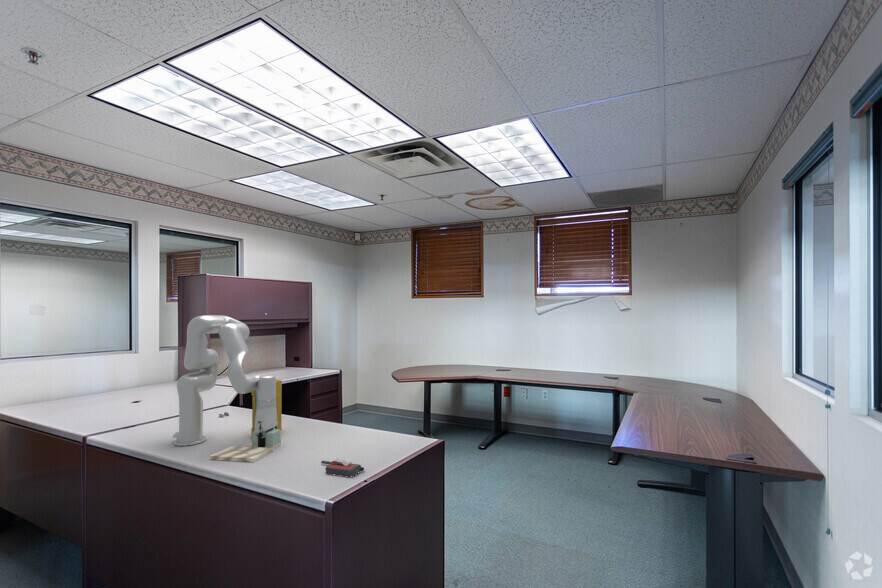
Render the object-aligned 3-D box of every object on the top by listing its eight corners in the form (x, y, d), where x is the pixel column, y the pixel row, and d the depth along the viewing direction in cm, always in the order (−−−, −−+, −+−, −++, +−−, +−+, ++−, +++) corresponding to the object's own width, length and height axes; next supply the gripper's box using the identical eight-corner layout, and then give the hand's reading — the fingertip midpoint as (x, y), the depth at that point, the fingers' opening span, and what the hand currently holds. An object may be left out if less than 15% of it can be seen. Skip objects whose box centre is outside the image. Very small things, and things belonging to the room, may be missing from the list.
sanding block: (252, 448, 181) (252, 432, 181) (260, 444, 187) (260, 428, 187) (272, 449, 179) (272, 433, 179) (280, 445, 185) (280, 429, 185)
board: (209, 459, 167) (209, 455, 168) (232, 449, 180) (232, 445, 180) (253, 462, 163) (253, 458, 164) (273, 451, 176) (273, 448, 176)
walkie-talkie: (367, 470, 154) (323, 464, 161) (367, 458, 154) (323, 452, 161) (354, 479, 145) (308, 472, 153) (354, 466, 146) (308, 460, 153)
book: (263, 439, 195) (264, 385, 196) (251, 438, 196) (251, 385, 198) (284, 429, 212) (284, 379, 213) (272, 428, 213) (272, 379, 214)
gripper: (270, 399, 193) (270, 438, 192) (246, 407, 176) (246, 450, 175) (285, 399, 192) (285, 439, 191) (262, 408, 175) (261, 451, 174)
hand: (266, 444), depth 183 cm, fingers open, 6 cm apart
